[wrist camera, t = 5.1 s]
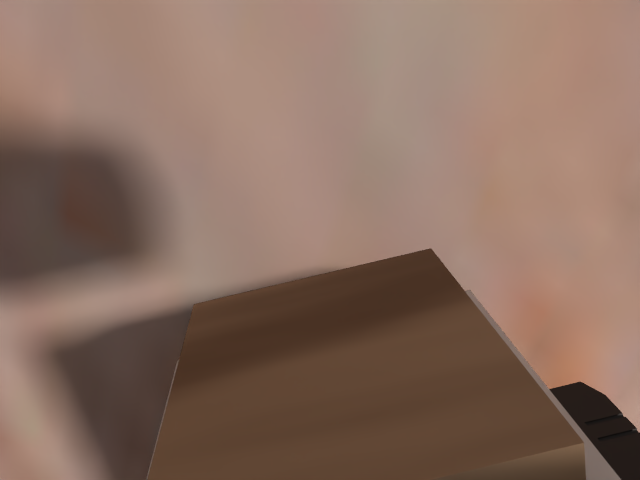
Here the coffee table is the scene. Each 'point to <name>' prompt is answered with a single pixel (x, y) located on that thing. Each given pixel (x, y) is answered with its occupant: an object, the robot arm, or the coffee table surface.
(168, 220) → the coffee table surface
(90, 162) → the coffee table surface
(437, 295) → the block
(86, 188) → the coffee table surface
